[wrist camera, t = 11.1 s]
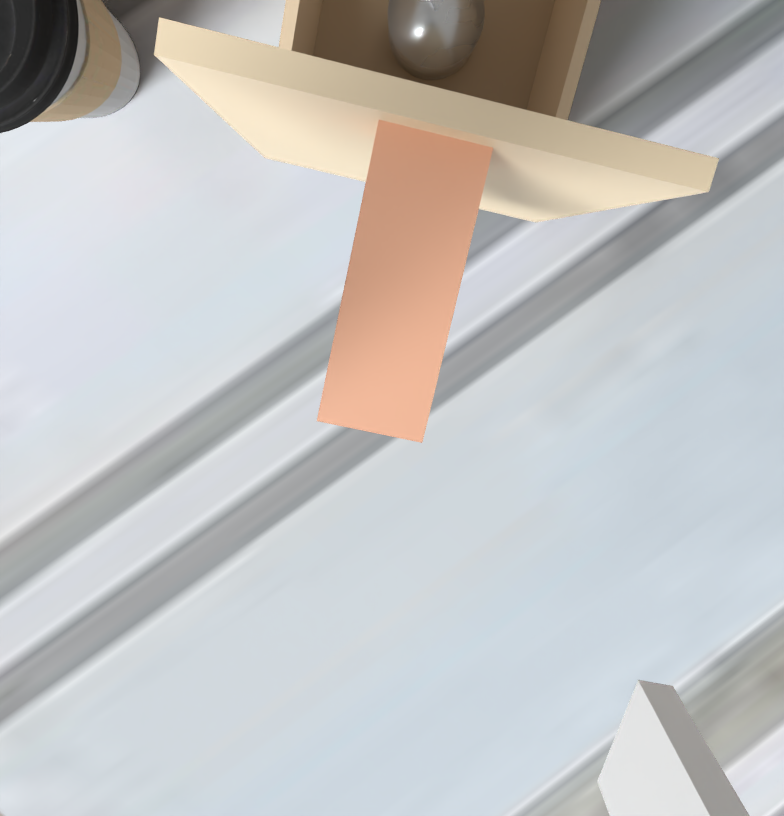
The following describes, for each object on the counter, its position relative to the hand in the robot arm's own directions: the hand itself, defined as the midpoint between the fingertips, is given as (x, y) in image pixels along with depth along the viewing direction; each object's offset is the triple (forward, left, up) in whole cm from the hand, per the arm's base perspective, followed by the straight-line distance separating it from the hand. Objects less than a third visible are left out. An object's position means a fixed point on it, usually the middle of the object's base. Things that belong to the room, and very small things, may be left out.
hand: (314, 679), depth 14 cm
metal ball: (-19, 0, -32) cm, 37 cm away
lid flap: (-11, 0, -15) cm, 19 cm away
